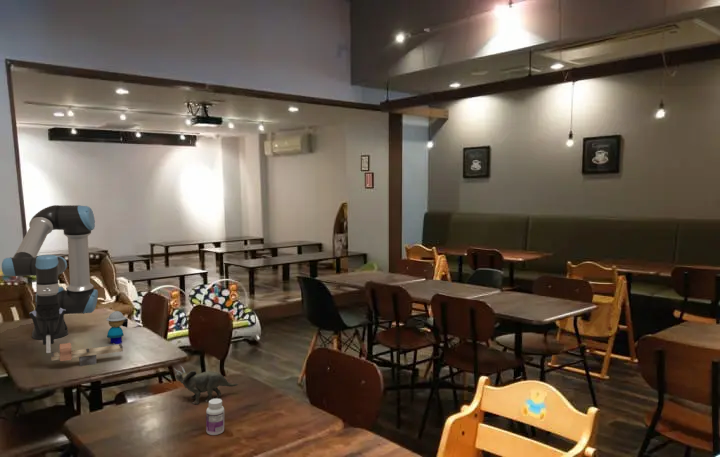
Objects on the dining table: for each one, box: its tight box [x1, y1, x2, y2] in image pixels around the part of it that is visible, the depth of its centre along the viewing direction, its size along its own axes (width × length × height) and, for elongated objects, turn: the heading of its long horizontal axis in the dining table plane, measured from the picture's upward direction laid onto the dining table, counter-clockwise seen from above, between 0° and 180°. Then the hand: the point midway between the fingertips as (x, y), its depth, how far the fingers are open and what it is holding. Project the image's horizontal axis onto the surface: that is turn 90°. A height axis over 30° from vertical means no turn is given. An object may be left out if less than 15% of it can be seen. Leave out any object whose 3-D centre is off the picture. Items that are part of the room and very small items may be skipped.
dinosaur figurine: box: [174, 365, 239, 405], centre depth 180 cm, size 22×8×11 cm, turn 100°
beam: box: [50, 343, 124, 367], centre depth 213 cm, size 26×5×6 cm, turn 122°
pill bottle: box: [205, 398, 225, 436], centre depth 157 cm, size 5×5×10 cm
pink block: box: [59, 342, 73, 362], centre depth 209 cm, size 4×7×5 cm, turn 31°
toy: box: [105, 310, 129, 345], centre depth 243 cm, size 8×9×15 cm
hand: (48, 351), depth 206 cm, fingers closed
